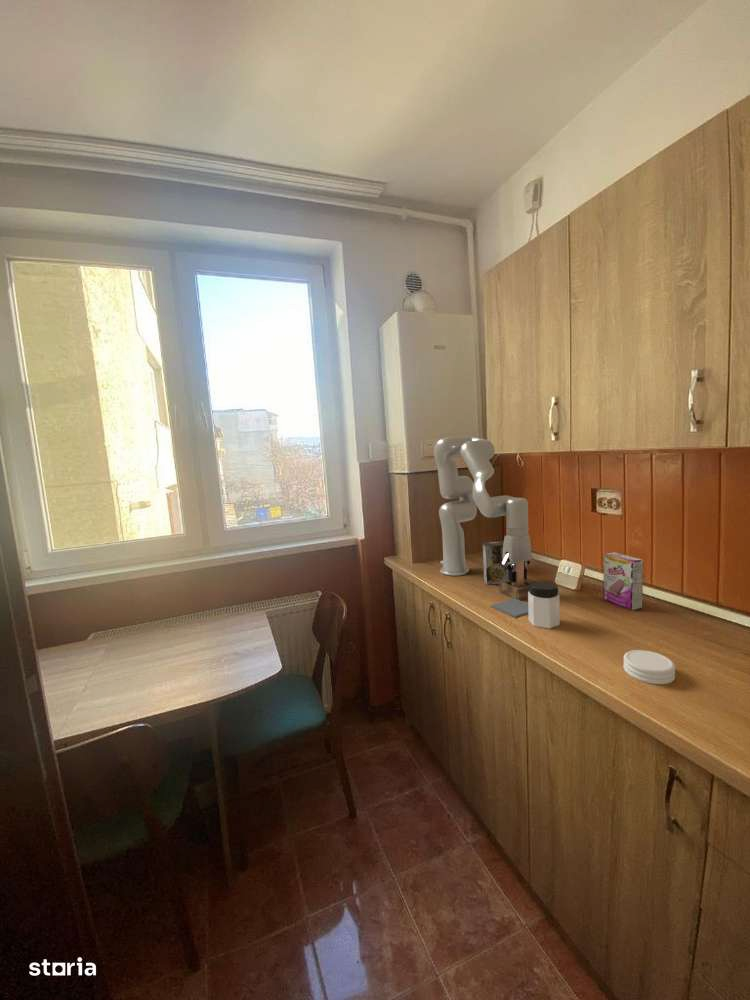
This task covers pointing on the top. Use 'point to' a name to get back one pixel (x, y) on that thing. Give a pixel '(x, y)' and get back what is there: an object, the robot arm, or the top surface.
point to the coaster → (649, 667)
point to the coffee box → (494, 563)
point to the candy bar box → (623, 580)
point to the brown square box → (515, 590)
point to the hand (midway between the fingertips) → (517, 579)
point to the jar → (543, 604)
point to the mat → (512, 607)
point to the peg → (519, 575)
